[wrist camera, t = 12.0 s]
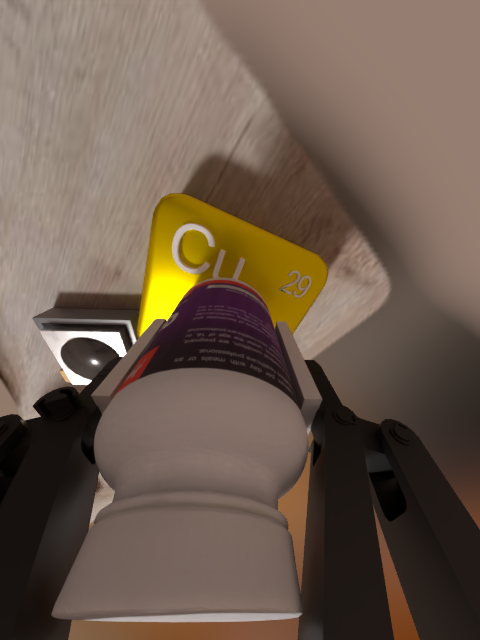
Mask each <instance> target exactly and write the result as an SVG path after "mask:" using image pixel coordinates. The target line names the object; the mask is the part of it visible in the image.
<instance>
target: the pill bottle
mask: <svg viewBox="0 0 480 640" xmlns="http://www.w3.org/2000/svg"><path fill="white" fill-rule="evenodd" d="M94 454H95V461H96V464H97V467H98V469H99V471H100V473H101V475H102V477H103V478H104V480H105V481H106V482H107V484H108V485H109V486H110V487H111V488H112V489H113V490H114V491H115V495H114V498H113V502H112V503H111V504H109V505H108V506H106V507H105V508H103V509H101V510H100V512H99V513H98V514H97V516H96V518H95V521H94V525H93V526H92V527H91V528H90V529H89V531H88V533H87V535H86V537H85V540H84V542H83V544H82V546H81V549H80V551H79V553H78V555H77V557H76V560H75V562H74V564H73V566H72V568H71V570H70V573H69V575H68V577H67V579H66V581H65V583H64V586H63V588H62V590H61V592H60V594H59V596H58V599H57V601H56V603H55V605H54V608H53V611H52V614H51V615H52V616H53V617H54V618H58V619H68V620H89V621H91V620H92V621H132V622H134V621H135V622H136V621H137V622H140V621H141V622H235V621H261V620H277V619H289V618H296V617H299V616H300V615H302V611H303V608H302V600H301V594H300V588H299V582H298V576H297V570H296V563H295V556H294V550H293V541H292V536H291V534H290V533H289V531H288V522H287V519H286V518H285V517H284V515H283V514H281V512H279V511H278V499H280V498H281V497H282V496H284V495H285V494H286V493H287V492H288V491H289V490H290V489H291V488H292V487H293V486H294V485H295V483H296V482H297V481H298V479H299V477H300V476H301V474H302V471H303V469H304V466H305V463H306V460H307V455H308V435H307V429H306V426H305V423H304V418H303V415H302V412H301V409H300V406H299V404H298V401H297V397H296V394H295V391H294V388H293V385H292V382H291V379H290V376H289V373H288V369H287V366H286V363H285V360H284V357H283V354H282V351H281V347H280V344H279V341H278V338H277V335H276V332H275V329H274V326H273V322H272V319H271V316H270V313H269V310H268V307H267V305H266V303H265V301H264V299H263V298H262V296H261V295H260V294H259V293H258V292H257V291H256V290H255V289H254V288H252V287H251V286H250V285H248V284H246V283H244V282H242V281H239V280H237V279H232V278H211V279H207V280H204V281H202V282H200V283H198V284H196V285H194V286H193V287H192V288H190V289H189V290H188V291H187V292H186V294H185V295H184V296H183V297H182V299H181V300H180V302H179V303H178V304H177V306H176V308H175V309H174V311H173V312H172V313H171V315H170V316H169V318H168V319H167V321H166V322H165V324H164V325H163V327H162V328H161V329H160V331H159V332H158V334H157V335H156V337H155V338H154V340H153V341H152V343H151V344H150V346H149V347H148V349H147V350H146V351H145V353H144V354H143V356H142V357H141V359H140V360H139V362H138V363H137V364H136V366H135V367H134V369H133V370H132V372H131V373H130V374H129V376H128V377H127V379H126V380H125V381H124V383H123V384H122V386H121V387H120V389H119V390H118V391H117V393H116V394H115V396H114V397H113V399H112V400H111V402H110V403H109V405H108V406H107V408H106V409H105V411H104V412H103V414H102V417H101V419H100V421H99V424H98V426H97V429H96V433H95V439H94Z"/></svg>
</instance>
